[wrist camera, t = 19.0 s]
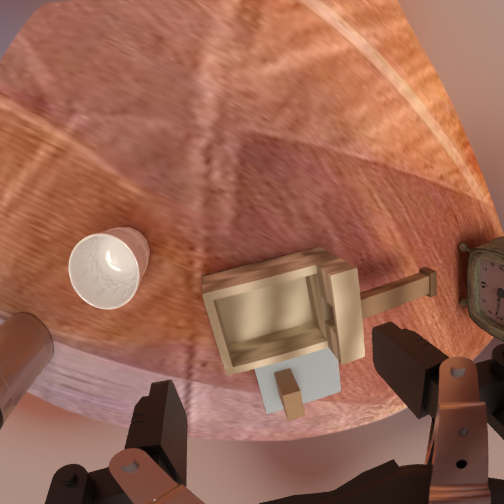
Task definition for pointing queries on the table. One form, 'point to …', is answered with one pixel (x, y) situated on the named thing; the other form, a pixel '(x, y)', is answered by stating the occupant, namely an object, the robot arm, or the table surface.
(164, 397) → the robot arm
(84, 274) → the white cup
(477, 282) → the tabletop clock
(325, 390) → the lid
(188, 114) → the table surface
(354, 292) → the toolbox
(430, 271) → the bar
